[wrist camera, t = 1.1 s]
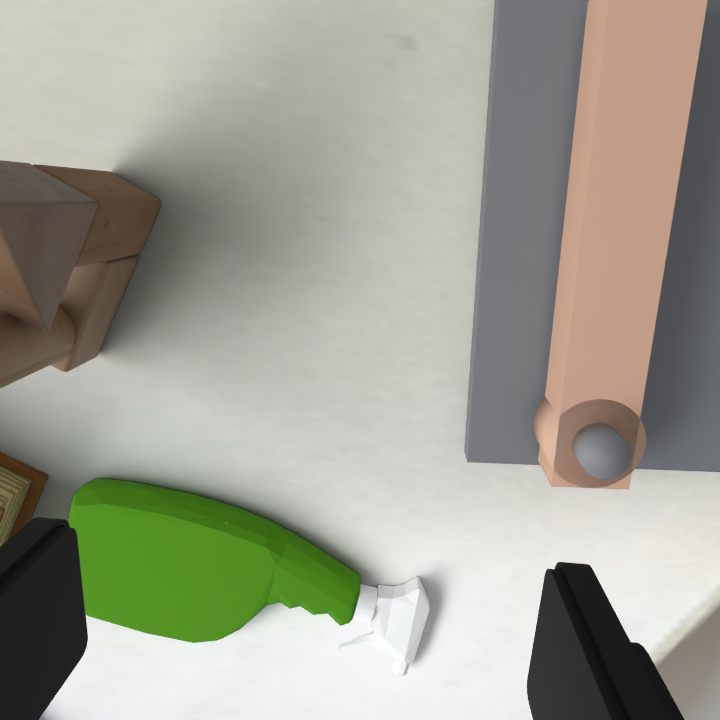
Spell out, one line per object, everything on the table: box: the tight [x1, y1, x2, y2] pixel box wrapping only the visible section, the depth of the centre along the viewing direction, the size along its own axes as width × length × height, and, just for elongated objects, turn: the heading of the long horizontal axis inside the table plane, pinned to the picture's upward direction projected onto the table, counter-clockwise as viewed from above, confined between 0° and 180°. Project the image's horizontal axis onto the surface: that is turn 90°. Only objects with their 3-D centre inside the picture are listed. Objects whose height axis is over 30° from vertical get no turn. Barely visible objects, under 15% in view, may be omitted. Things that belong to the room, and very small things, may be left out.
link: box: [533, 0, 708, 490], centre depth 27 cm, size 24×5×4 cm, turn 179°
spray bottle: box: [68, 479, 430, 676], centre depth 38 cm, size 3×11×24 cm
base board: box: [465, 0, 720, 472], centre depth 30 cm, size 27×20×2 cm
